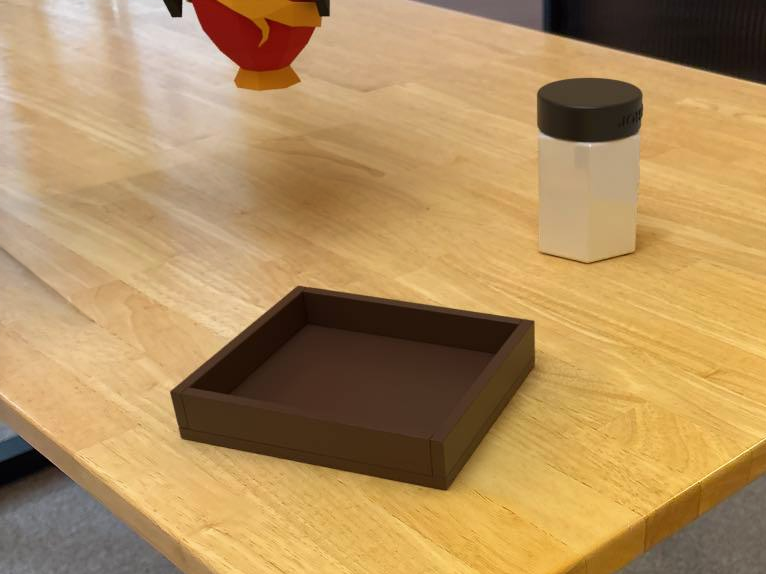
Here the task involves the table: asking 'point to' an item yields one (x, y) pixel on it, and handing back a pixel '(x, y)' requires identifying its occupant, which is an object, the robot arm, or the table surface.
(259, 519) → the table surface
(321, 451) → the shallow brown tray
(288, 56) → the potion bottle
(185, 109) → the table surface
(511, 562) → the table surface
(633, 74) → the table surface
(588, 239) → the jar
